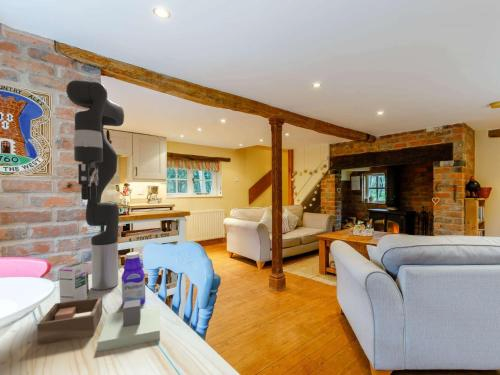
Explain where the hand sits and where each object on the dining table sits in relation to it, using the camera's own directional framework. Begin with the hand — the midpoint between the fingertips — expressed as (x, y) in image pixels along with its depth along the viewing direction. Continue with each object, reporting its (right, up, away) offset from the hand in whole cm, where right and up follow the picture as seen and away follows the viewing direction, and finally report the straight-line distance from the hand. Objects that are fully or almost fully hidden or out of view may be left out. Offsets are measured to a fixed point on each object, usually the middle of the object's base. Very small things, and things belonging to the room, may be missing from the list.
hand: (89, 198), depth 81 cm
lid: (+18, -36, -10) cm, 42 cm away
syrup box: (-7, -36, +4) cm, 37 cm away
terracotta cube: (-2, -35, -7) cm, 36 cm away
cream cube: (+4, -35, -10) cm, 37 cm away
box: (+1, -36, -9) cm, 37 cm away
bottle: (+11, -36, +7) cm, 38 cm away
